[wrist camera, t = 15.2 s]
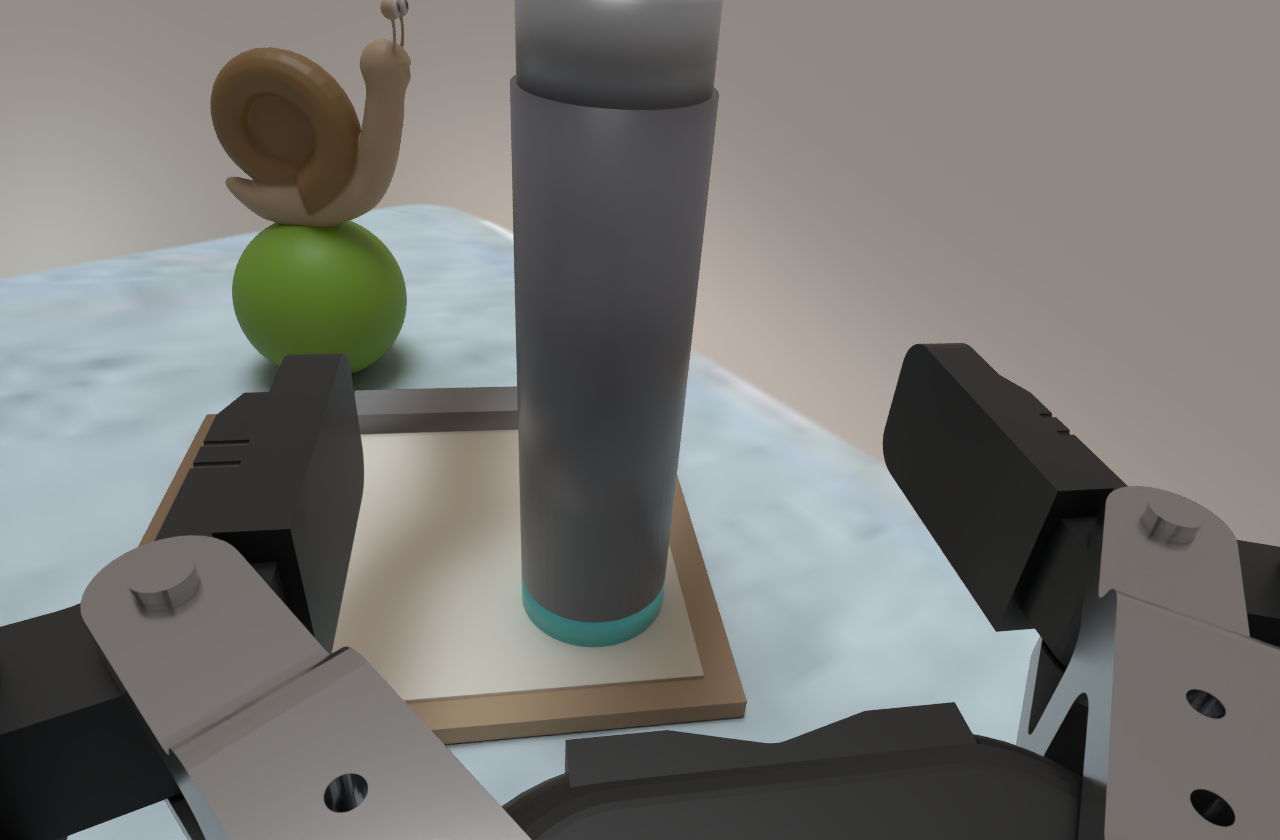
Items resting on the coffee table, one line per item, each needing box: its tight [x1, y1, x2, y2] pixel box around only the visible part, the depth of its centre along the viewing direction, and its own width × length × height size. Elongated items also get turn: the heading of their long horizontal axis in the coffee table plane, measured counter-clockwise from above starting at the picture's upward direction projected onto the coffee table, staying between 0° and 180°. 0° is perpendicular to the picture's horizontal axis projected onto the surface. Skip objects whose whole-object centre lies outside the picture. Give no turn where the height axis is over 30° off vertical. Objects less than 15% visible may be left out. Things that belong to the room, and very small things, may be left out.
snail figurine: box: [211, 0, 411, 374], centre depth 26 cm, size 5×6×12 cm
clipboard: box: [138, 387, 747, 744], centre depth 21 cm, size 14×12×1 cm
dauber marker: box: [510, 0, 723, 647], centre depth 16 cm, size 3×3×13 cm
